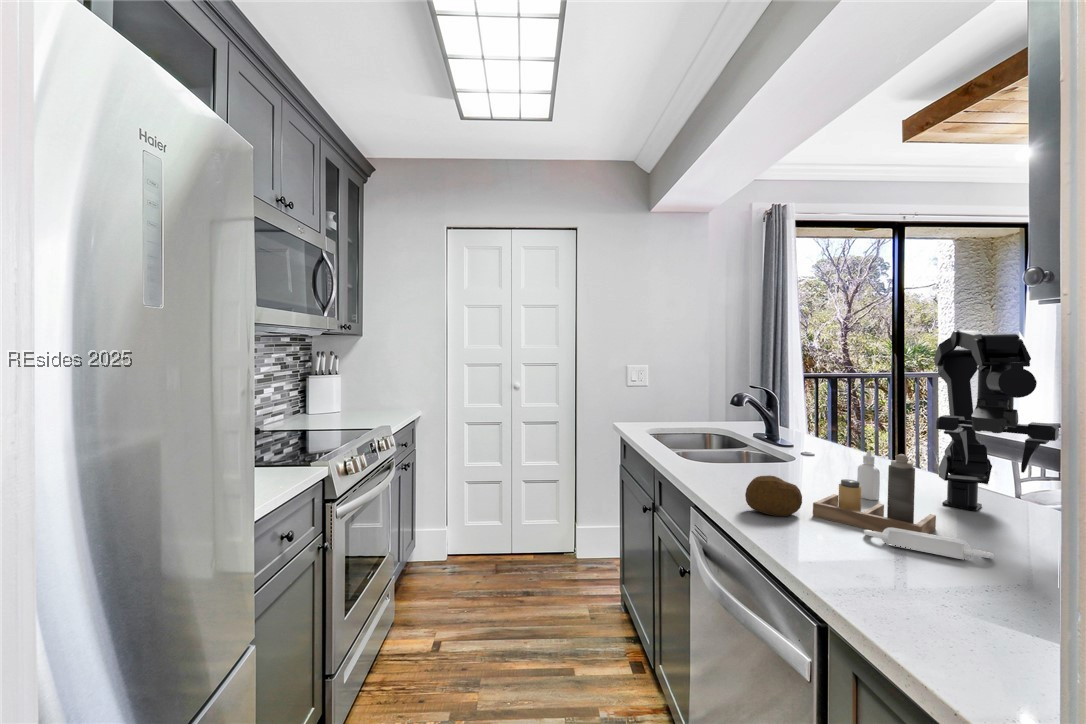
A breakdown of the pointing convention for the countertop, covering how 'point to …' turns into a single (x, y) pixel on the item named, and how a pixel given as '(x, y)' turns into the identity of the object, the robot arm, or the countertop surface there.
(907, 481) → the pepper mill
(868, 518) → the slot rack
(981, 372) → the robot arm
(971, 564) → the countertop surface
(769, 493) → the potato
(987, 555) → the rolling pin
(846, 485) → the amber jar
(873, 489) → the eye dropper bottle
